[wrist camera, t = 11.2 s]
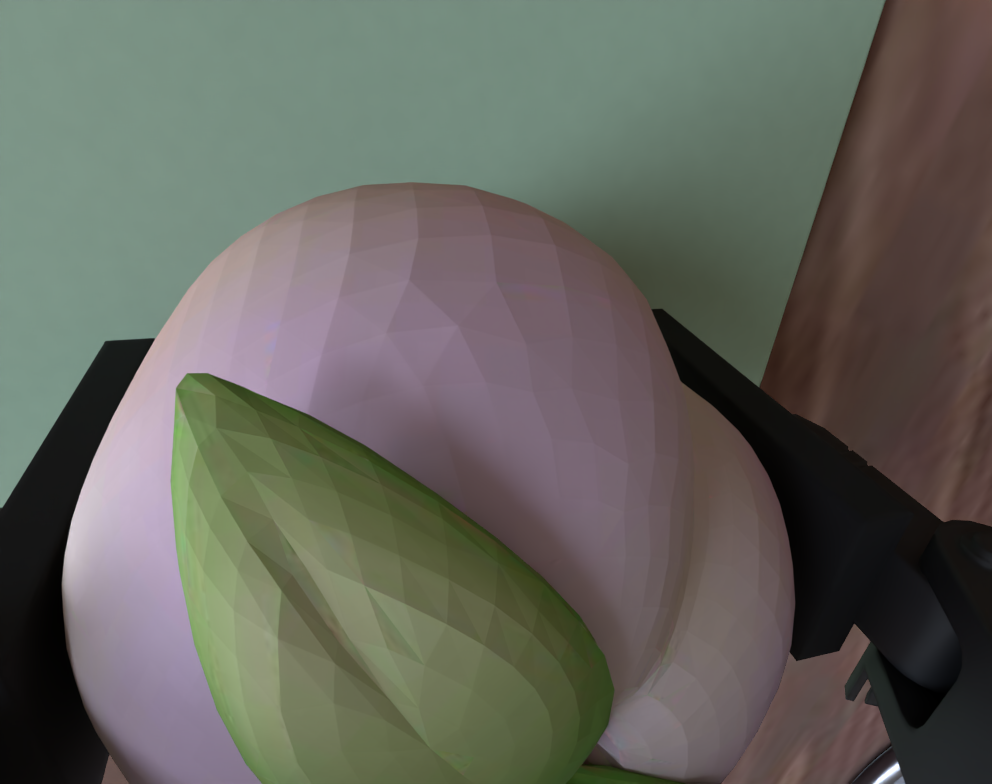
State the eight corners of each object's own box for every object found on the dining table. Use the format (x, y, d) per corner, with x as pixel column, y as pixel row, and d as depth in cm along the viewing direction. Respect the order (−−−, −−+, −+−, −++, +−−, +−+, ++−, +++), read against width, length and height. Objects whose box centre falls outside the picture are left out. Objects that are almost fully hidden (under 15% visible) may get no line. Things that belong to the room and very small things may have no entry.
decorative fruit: (47, 364, 11) (-805, 1516, 2) (381, 23, 9) (932, 42, 1) (410, 578, 16) (526, 1180, 8) (657, 377, 15) (1116, 838, 6)
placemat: (671, 617, 21) (680, 632, 21) (89, 735, 17) (83, 757, 16) (949, -278, 10) (984, -294, 9) (-633, -674, 5) (-730, -744, 5)
